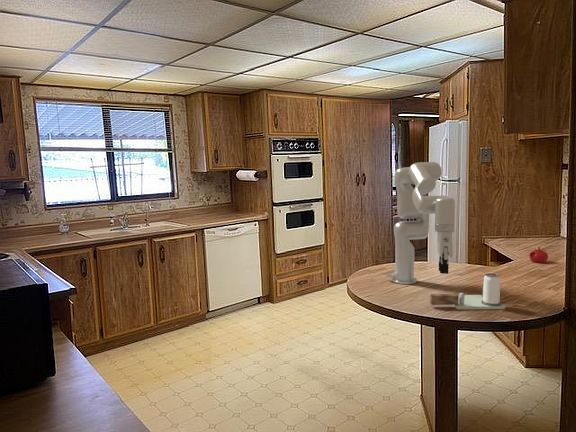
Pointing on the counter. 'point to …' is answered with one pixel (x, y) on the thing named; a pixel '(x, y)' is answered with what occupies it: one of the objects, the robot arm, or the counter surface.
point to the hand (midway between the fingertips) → (443, 271)
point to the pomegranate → (538, 256)
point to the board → (475, 302)
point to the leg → (444, 299)
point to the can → (491, 288)
